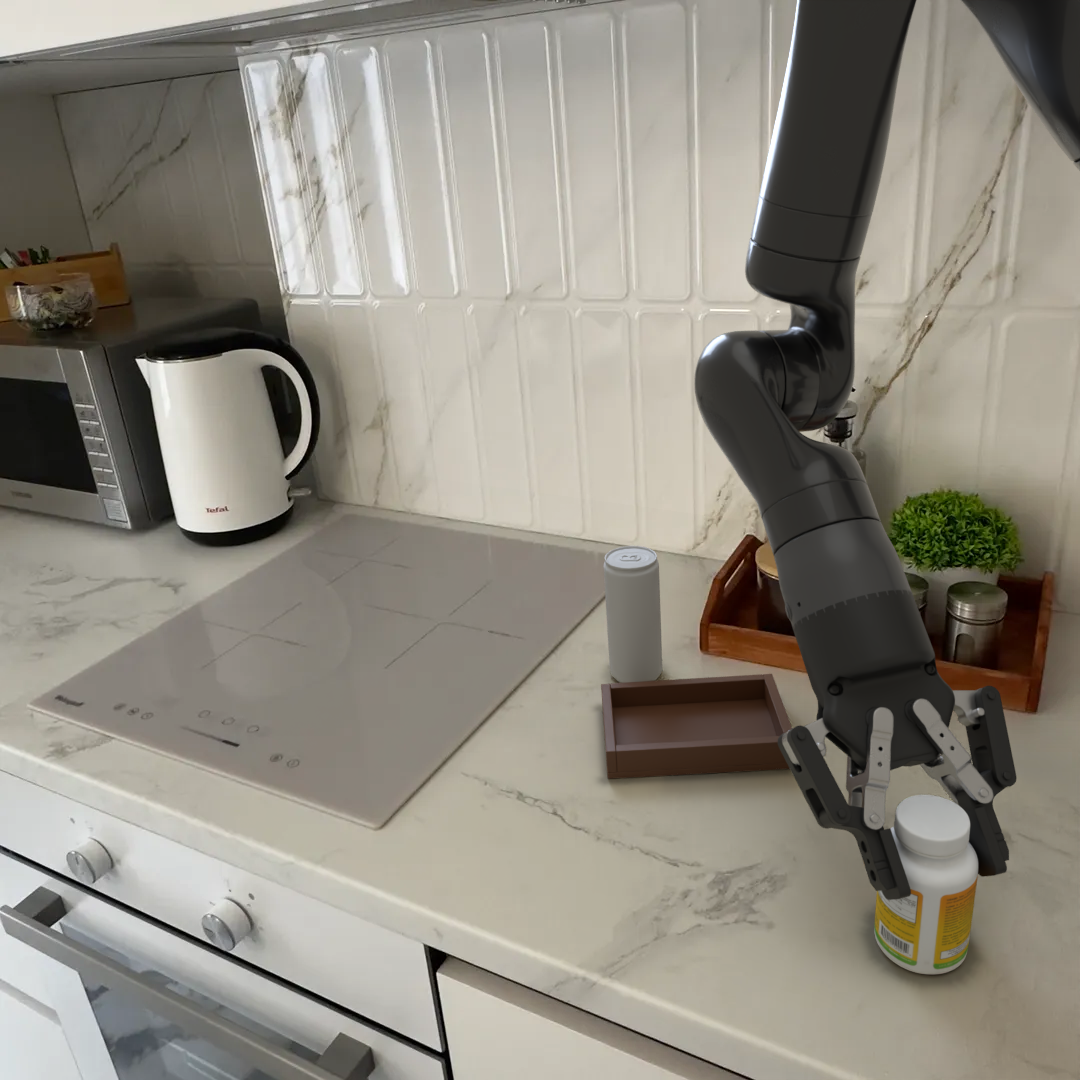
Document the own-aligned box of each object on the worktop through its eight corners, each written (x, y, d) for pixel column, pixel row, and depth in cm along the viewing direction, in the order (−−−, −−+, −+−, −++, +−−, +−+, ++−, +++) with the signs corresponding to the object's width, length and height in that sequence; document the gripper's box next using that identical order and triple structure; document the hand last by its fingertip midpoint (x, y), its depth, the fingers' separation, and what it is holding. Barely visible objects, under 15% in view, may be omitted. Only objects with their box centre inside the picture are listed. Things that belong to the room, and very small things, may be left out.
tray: (771, 699, 84) (772, 673, 83) (796, 768, 75) (797, 741, 74) (602, 709, 85) (600, 683, 84) (607, 779, 76) (605, 751, 75)
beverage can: (661, 689, 87) (657, 568, 82) (607, 688, 88) (600, 569, 83) (663, 660, 91) (659, 544, 86) (612, 660, 92) (605, 545, 87)
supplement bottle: (962, 914, 61) (978, 790, 57) (972, 984, 57) (990, 854, 53) (871, 902, 63) (881, 780, 59) (874, 969, 58) (884, 842, 54)
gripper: (762, 609, 57) (857, 914, 51) (983, 567, 59) (1098, 853, 53) (726, 644, 63) (806, 916, 58) (925, 605, 66) (1022, 862, 60)
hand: (946, 884), depth 55 cm, fingers closed on supplement bottle, 5 cm apart
